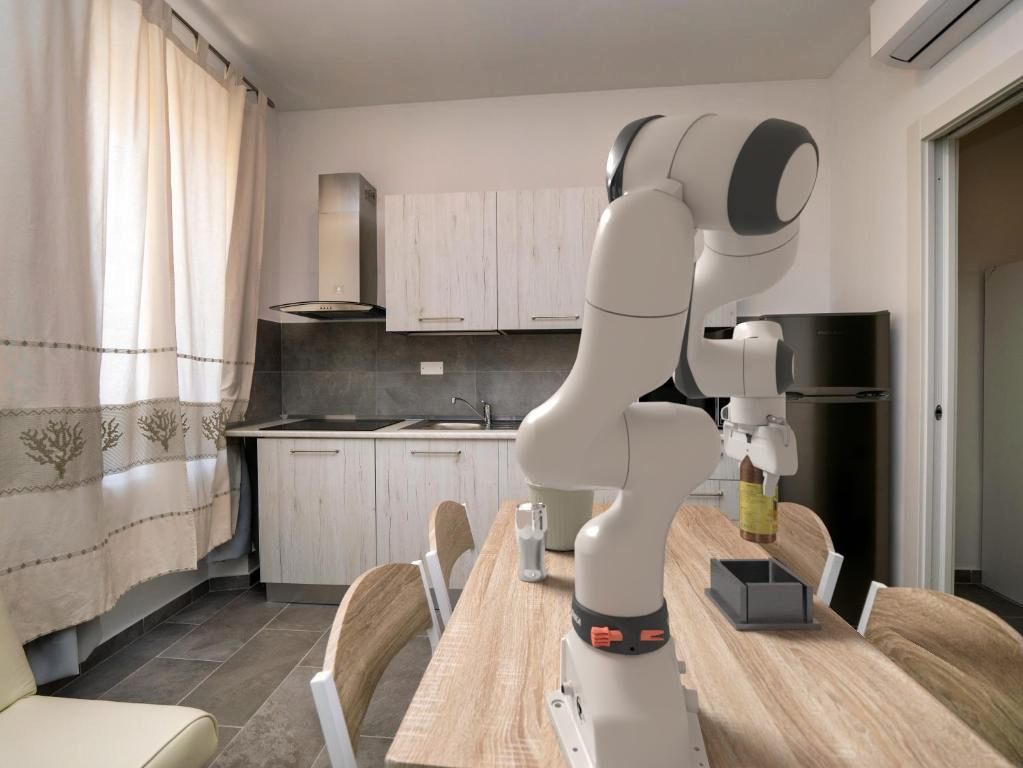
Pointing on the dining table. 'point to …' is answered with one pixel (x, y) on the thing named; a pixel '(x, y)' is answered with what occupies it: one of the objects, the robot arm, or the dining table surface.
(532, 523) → the beer glass
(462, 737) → the dining table surface
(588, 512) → the canister
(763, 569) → the square socket
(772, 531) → the sauce bottle
